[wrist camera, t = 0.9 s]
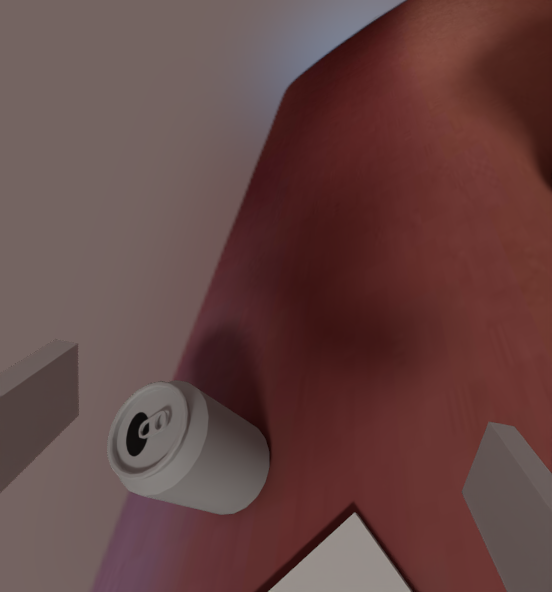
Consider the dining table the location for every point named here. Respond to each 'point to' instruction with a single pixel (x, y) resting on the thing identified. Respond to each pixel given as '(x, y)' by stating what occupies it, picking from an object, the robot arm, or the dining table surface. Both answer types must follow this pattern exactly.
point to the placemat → (345, 565)
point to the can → (187, 449)
